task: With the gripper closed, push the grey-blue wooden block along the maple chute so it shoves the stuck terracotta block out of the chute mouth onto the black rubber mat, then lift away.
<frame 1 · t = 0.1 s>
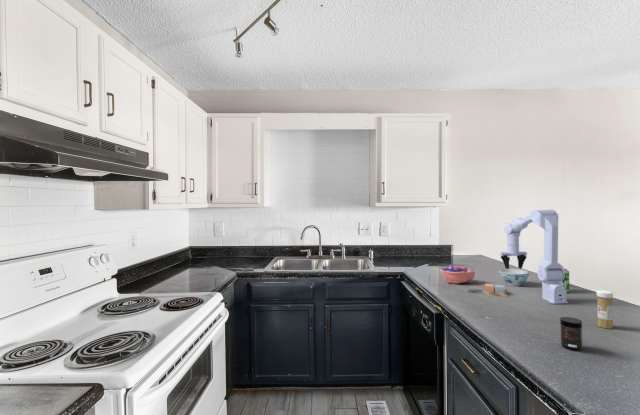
hand: (513, 268, 180), 10 cm above the counter, tool pointing down, fingers open, 7 cm apart
grey-blue block: (499, 289, 164), point 3 cm above the counter, slide at 0.0 cm
chinaware: (514, 284, 184), on the counter
supplement container: (571, 347, 104), on the counter
terracotta block: (489, 288, 166), point 3 cm above the counter, slide at 0.0 cm
cell model: (457, 283, 190), on the counter
soda can: (560, 291, 167), on the counter
sprinkles bottle: (605, 327, 120), on the counter
maple chute: (490, 294, 166), on the counter
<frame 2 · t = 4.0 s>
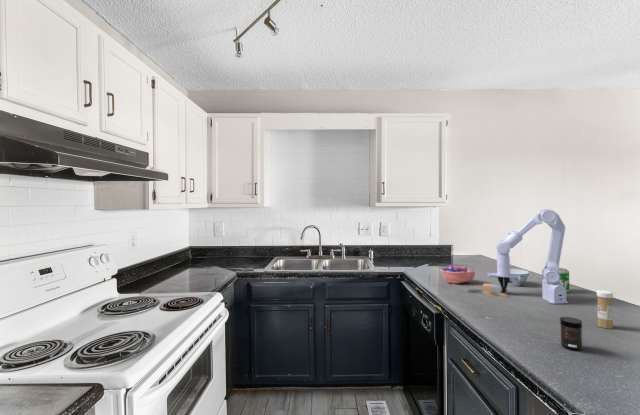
hand: (503, 292, 163), 2 cm above the counter, tool pointing down, fingers closed
grey-blue block: (496, 289, 164), point 3 cm above the counter, slide at 1.5 cm, touching gripper, terracotta block
terracotta block: (487, 288, 166), point 3 cm above the counter, slide at 0.9 cm, touching grey-blue block
everything else where it was.
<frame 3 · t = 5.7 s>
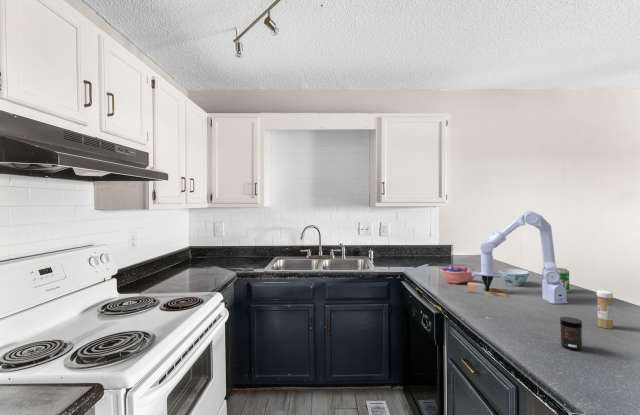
hand: (487, 290, 166), 2 cm above the counter, tool pointing down, fingers closed
grey-blue block: (480, 288, 168), point 3 cm above the counter, slide at 8.9 cm, touching gripper, terracotta block
terracotta block: (472, 287, 170), point 3 cm above the counter, slide at 8.3 cm, touching grey-blue block
everything else where it was.
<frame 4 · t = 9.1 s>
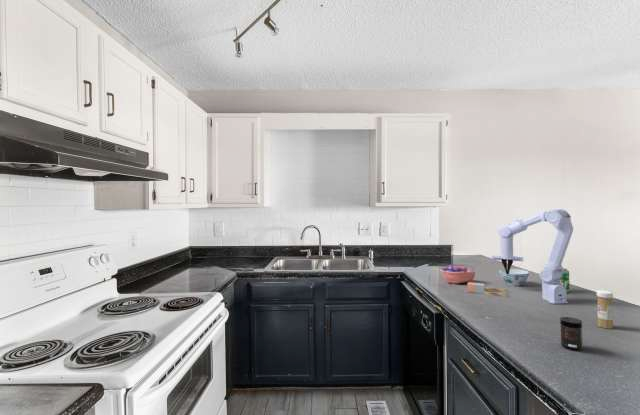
hand: (507, 273, 170), 9 cm above the counter, tool pointing down, fingers closed
grey-blue block: (480, 288, 168), point 3 cm above the counter, slide at 9.0 cm, touching terracotta block
everything else where it was.
at the end: terracotta block slide at 8.4 cm; grey-blue block slide at 9.0 cm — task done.
